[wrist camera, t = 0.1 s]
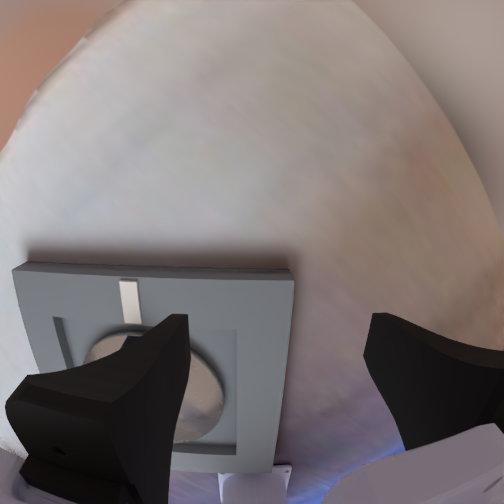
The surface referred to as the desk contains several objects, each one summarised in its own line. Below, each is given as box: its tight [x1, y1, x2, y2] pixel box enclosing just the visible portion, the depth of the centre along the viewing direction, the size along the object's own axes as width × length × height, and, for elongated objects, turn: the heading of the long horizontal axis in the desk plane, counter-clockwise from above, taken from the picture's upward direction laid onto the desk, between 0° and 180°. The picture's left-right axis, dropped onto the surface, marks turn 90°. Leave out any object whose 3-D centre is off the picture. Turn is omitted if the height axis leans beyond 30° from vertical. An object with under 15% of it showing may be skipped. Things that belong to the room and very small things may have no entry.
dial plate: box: [12, 262, 295, 474], centre depth 22 cm, size 21×21×2 cm
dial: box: [83, 330, 224, 444], centre depth 20 cm, size 12×12×4 cm
